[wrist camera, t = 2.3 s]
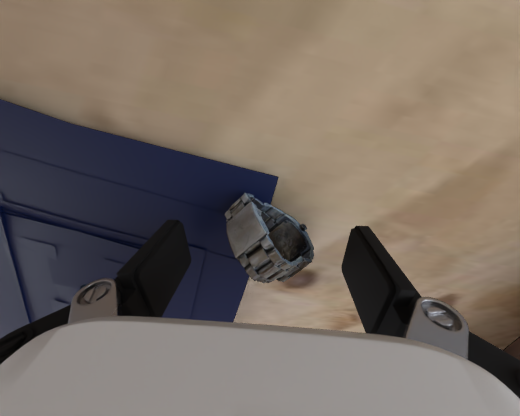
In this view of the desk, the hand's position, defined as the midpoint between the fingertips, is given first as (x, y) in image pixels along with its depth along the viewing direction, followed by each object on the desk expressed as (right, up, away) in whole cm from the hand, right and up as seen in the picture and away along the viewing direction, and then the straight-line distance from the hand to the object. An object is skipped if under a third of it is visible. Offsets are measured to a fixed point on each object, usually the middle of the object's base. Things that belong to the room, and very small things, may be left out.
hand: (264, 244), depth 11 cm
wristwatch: (0, +2, +2) cm, 2 cm away
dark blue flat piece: (-15, -5, +8) cm, 17 cm away
